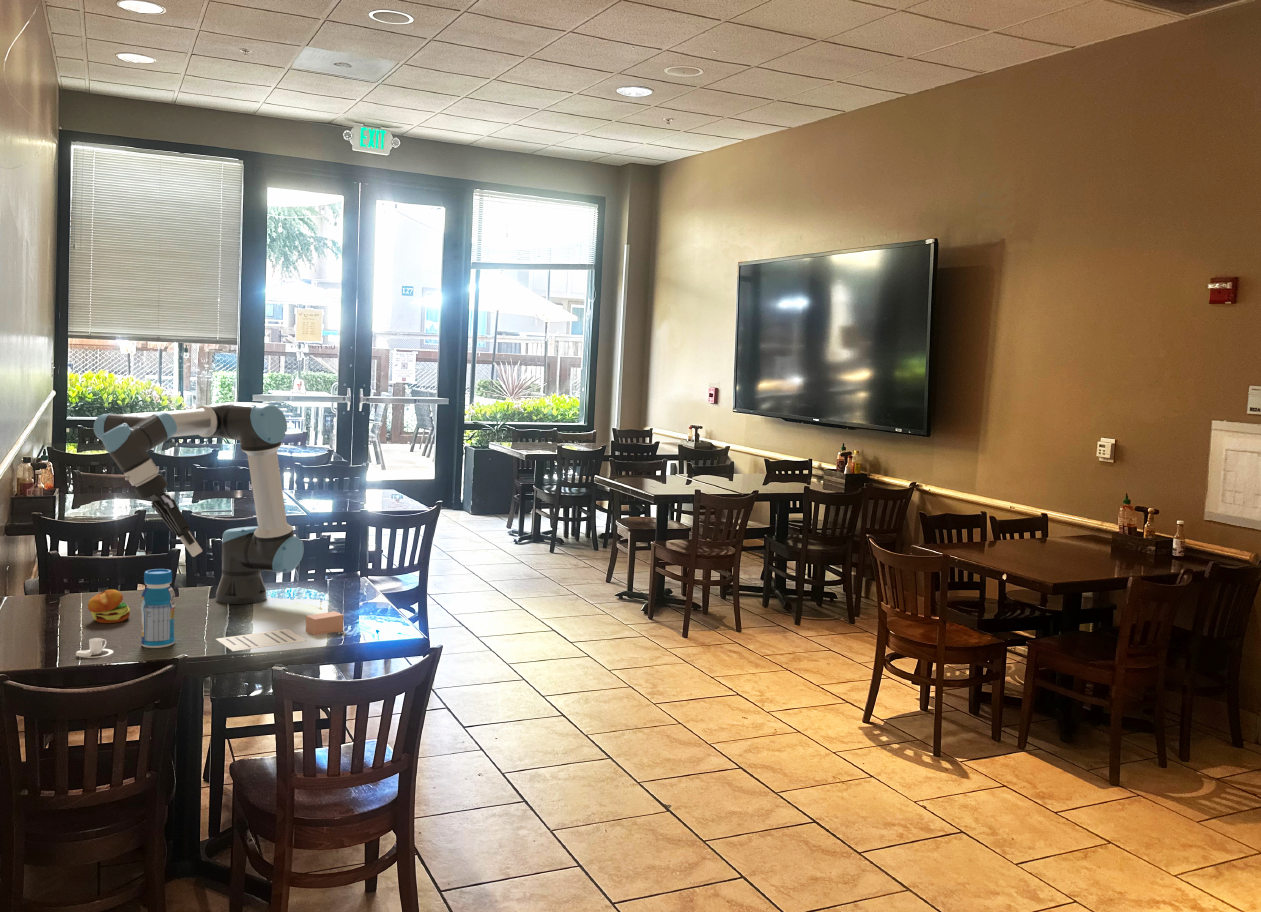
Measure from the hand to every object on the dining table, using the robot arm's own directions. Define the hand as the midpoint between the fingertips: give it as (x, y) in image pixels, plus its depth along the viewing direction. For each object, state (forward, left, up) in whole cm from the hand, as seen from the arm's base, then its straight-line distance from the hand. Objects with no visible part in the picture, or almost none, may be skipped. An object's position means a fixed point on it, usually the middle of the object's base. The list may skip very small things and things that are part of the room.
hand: (197, 553), depth 273 cm
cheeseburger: (-37, -13, -25) cm, 46 cm away
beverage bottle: (-4, -9, -25) cm, 27 cm away
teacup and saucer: (-6, -26, -25) cm, 37 cm away
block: (+6, +29, -22) cm, 37 cm away
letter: (+6, +15, -25) cm, 30 cm away
